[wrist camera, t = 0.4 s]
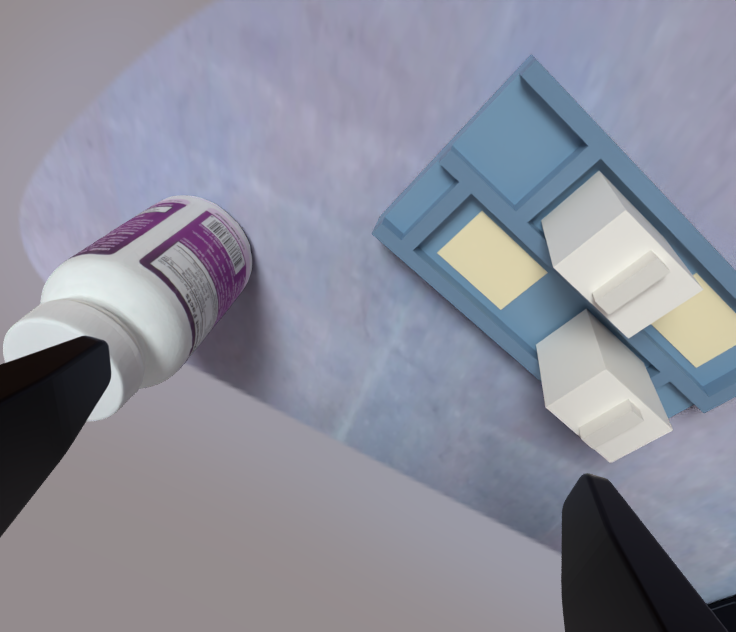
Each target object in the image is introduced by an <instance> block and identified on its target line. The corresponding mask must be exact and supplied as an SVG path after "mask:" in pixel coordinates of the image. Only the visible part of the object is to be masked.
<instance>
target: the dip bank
mask: <svg viewBox="0 0 736 632" xmlns="http://www.w3.org/2000/svg"><path fill="white" fill-rule="evenodd" d="M598 171H600V172H601V173H602V174H603V175H604V176H605V177H606V178H607V179H608V180H609V181H610V182H611V183H612V184H613V185H614V186H615V187H616V188H617V189H618V190H619V191H620V192H621V194H622V195H623V196H624V197H625V198H626V199H627V200H628V201H629V202H630V203H631V204H632V205H633V206H634V207H635V208H636V209H637V210H638V211H639V212H640V213H641V214H642V215H643V216H644V217H645V218H646V219H647V220H648V221H649V222H650V223H651V224H652V226H653V227H654V228H655V229H656V230H657V231H658V232H659V233H660V234H661V235H662V236H663V237H664V238H665V239H666V241H667V242H668V243H669V245H670V246H671V247H672V249H673V250H674V251H675V253H676V254H677V255H678V257H679V258H680V259H681V260H682V262H683V263H684V264H685V266H686V267H687V268H688V270H689V271H690V272H691V274H692V275H693V276H694V278H695V279H696V280H697V282H698V283H699V284H700V286H701V287H702V288H703V290H702V291H701V292H699V293H698V294H696V295H695V296H693V297H691V298H690V299H688V300H687V301H685V302H684V303H682V304H681V305H679V306H678V307H676V308H675V309H673V310H672V311H670V312H668V313H667V314H665V315H664V316H662V317H661V318H659V319H658V320H656V321H655V322H653V323H652V324H650V325H648V326H647V327H645V328H644V329H642V330H641V331H639V332H638V333H636V334H635V335H633V336H632V337H630V338H629V339H628V338H627V337H626V336H625V335H624V334H623V333H622V332H621V331H620V330H619V329H618V328H617V327H616V326H615V325H614V324H612V323H611V322H610V321H609V320H608V319H607V318H606V317H605V316H604V315H603V314H602V313H601V312H600V311H599V310H598V309H597V308H596V307H595V306H593V305H592V304H591V303H590V302H589V301H588V300H587V299H586V298H585V297H584V296H583V295H582V294H581V293H580V292H579V291H578V290H577V289H576V288H574V287H573V286H572V285H571V284H570V283H569V282H568V281H567V280H566V279H565V278H564V277H563V276H562V275H561V274H560V273H559V272H558V271H557V270H555V269H554V268H553V265H552V261H551V257H550V253H549V249H548V245H547V241H546V238H545V234H544V230H543V226H542V222H541V220H542V219H543V218H544V217H546V216H547V215H548V214H549V213H550V212H551V211H553V210H554V209H555V208H556V207H557V206H558V205H560V204H561V203H562V202H563V201H564V200H565V199H567V198H568V197H569V196H570V195H571V194H572V193H573V192H575V191H576V190H577V189H578V188H579V187H580V186H582V185H583V184H584V183H585V182H586V181H587V180H589V179H590V178H591V177H592V176H593V175H594V174H596V173H597V172H598ZM372 235H373V236H375V237H376V238H377V239H378V240H379V241H380V242H382V243H383V244H384V245H385V246H386V247H387V248H388V249H390V250H391V251H392V252H393V253H394V254H395V255H396V256H398V257H399V258H400V259H401V260H402V261H403V262H404V263H406V264H407V265H408V266H409V267H410V268H411V269H412V270H414V271H415V272H416V273H417V274H418V275H419V276H420V277H422V278H423V279H424V280H425V281H426V282H427V283H428V284H430V285H431V286H432V287H433V288H434V289H435V290H436V291H438V292H439V293H440V294H441V295H442V296H443V297H444V298H446V299H447V300H448V301H449V302H450V303H451V304H453V305H454V306H455V307H456V308H457V309H458V310H459V311H461V312H462V313H463V314H464V315H465V316H466V317H467V318H469V319H470V320H471V321H472V322H473V323H474V324H475V325H477V326H478V327H479V328H480V329H481V330H482V331H483V332H485V333H486V334H487V335H488V336H489V337H490V338H491V339H493V340H494V341H495V342H496V343H497V344H498V345H499V346H501V347H502V348H503V349H504V350H505V351H506V352H507V353H509V354H510V355H511V356H512V357H513V358H514V359H515V360H517V361H518V362H519V363H520V364H521V365H522V366H524V367H525V368H526V369H527V370H528V371H529V372H530V373H532V374H533V375H534V376H535V377H536V378H537V379H538V380H540V381H541V374H540V368H539V361H538V354H537V348H536V344H538V343H539V342H540V341H542V340H543V339H545V338H546V337H547V336H549V335H550V334H551V333H553V332H554V331H556V330H557V329H558V328H560V327H561V326H563V325H564V324H565V323H567V322H568V321H570V320H571V319H572V318H574V317H575V316H577V315H578V314H579V313H581V312H582V311H584V310H585V309H587V310H588V311H589V312H590V313H591V314H593V315H594V316H595V317H596V318H597V319H598V320H599V321H600V322H601V323H602V324H603V325H604V326H605V327H606V328H607V329H608V330H610V331H611V332H612V333H613V334H614V335H615V336H616V337H617V338H618V339H619V340H620V341H621V342H622V343H623V344H624V345H625V346H627V347H628V348H629V349H630V350H631V351H632V352H633V353H634V354H635V355H636V356H637V357H638V358H639V359H640V360H641V361H642V362H643V363H644V365H645V367H646V369H647V372H648V374H649V376H650V379H651V381H652V383H653V385H654V388H655V390H656V392H657V394H658V397H659V399H660V401H661V404H662V406H663V408H664V410H665V413H666V415H667V417H668V418H670V417H672V416H674V415H676V414H677V413H679V412H681V411H683V410H685V409H687V408H689V407H690V406H692V405H694V404H695V405H696V406H697V407H698V408H699V409H700V410H701V411H702V412H703V413H706V412H708V411H709V410H711V409H713V408H715V407H717V406H719V405H721V404H723V403H725V402H726V401H728V400H730V399H732V398H734V397H736V271H735V270H734V268H733V267H732V266H731V265H730V264H729V263H728V262H727V261H726V260H725V259H724V258H723V257H722V256H721V255H720V254H719V253H718V251H717V250H716V249H715V248H714V247H713V246H712V245H711V244H710V243H709V242H708V241H707V240H706V239H705V238H704V237H703V236H702V235H701V233H700V232H699V231H698V230H697V229H696V228H695V227H694V226H693V225H692V224H691V223H690V222H689V221H688V220H687V219H686V218H685V217H684V215H683V214H682V213H681V212H680V211H679V210H678V209H677V208H676V207H675V206H674V205H673V204H672V203H671V202H670V201H669V200H668V199H667V197H666V196H665V195H664V194H663V193H662V192H661V191H660V190H659V189H658V188H657V187H656V186H655V185H654V184H653V183H652V182H651V181H650V179H649V178H648V177H647V176H646V175H645V174H644V173H643V172H642V171H641V170H640V169H639V168H638V167H637V166H636V165H635V164H634V162H633V161H632V160H631V159H630V158H629V157H628V156H627V155H626V154H625V153H624V152H623V151H622V150H621V149H620V148H619V147H618V146H617V144H616V143H615V142H614V141H613V140H612V139H611V138H610V137H609V136H608V135H607V134H606V133H605V132H604V131H603V130H602V129H601V128H600V126H599V125H598V124H597V123H596V122H595V121H594V120H593V119H592V118H591V117H590V116H589V115H588V114H587V113H586V112H585V111H584V110H583V108H582V107H581V106H580V105H579V104H578V103H577V102H576V101H575V100H574V99H573V98H572V97H571V96H570V95H569V94H568V93H567V92H566V90H565V89H564V88H563V87H562V86H561V85H560V84H559V83H558V82H557V81H556V80H555V79H554V78H553V77H552V76H551V75H550V73H549V72H548V71H547V70H546V69H545V68H544V67H543V66H542V65H541V64H540V63H539V62H538V61H537V60H536V59H535V58H534V57H533V55H532V54H531V55H530V56H529V57H528V58H527V59H526V61H525V62H524V63H523V64H522V65H521V66H520V67H519V68H518V69H517V70H516V71H515V72H514V73H513V74H512V76H511V77H510V78H509V79H508V80H507V81H506V82H505V83H504V84H503V85H502V86H501V87H500V88H499V89H498V91H497V92H496V93H495V94H494V95H493V96H492V97H491V98H490V99H489V100H488V101H487V102H486V103H485V104H484V106H483V107H482V108H481V109H480V110H479V111H478V112H477V113H476V114H475V115H474V116H473V117H472V118H471V119H470V121H469V122H468V123H467V124H466V125H465V126H464V127H463V128H462V129H461V130H460V131H459V132H458V133H457V134H456V136H455V137H454V138H453V139H452V140H451V141H450V142H449V143H448V144H447V145H446V146H445V147H444V148H443V149H442V151H441V152H440V153H439V154H438V155H437V156H436V157H435V158H434V159H433V160H432V161H431V162H430V163H429V165H428V166H427V167H426V168H425V169H424V170H423V171H422V172H421V173H420V174H419V175H418V176H417V177H416V178H415V180H414V181H413V182H412V183H411V184H410V185H409V186H408V187H407V188H406V189H405V190H404V191H403V192H402V193H401V195H400V196H399V197H398V198H397V199H396V200H395V201H394V202H393V203H392V204H391V205H390V206H389V207H388V208H387V210H386V211H385V212H384V213H383V214H382V215H381V216H380V217H379V219H378V222H377V224H376V226H375V228H374V230H373V232H372ZM541 382H542V381H541Z"/></svg>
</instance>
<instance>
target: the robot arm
mask: <svg viewBox="0 0 736 632" xmlns="http://www.w3.org/2000/svg"><path fill="white" fill-rule="evenodd" d="M110 380H111V363H110V352H109V345H108V343H107V342H106V341H104V340H102V339H98V338H95V337H91V336H80V337H77V338H74V339H72V340H69V341H66V342H63V343H60V344H57V345H55V346H52V347H49V348H46V349H43V350H40V351H38V352H35V353H32V354H29V355H26V356H23V357H21V358H18V359H15V360H12V361H9V362H6V363H4V364H1V365H0V537H1V536H2V535H3V533H4V532H5V531H6V529H7V528H8V527H9V526H10V524H11V523H12V522H13V521H14V519H15V518H16V517H17V515H18V514H19V513H20V512H21V510H22V509H23V508H24V507H25V505H26V504H27V503H28V501H29V500H30V499H31V497H32V496H33V495H34V494H35V492H36V491H37V490H38V489H39V487H40V486H41V485H42V483H43V482H44V481H45V480H46V478H47V477H48V476H49V475H50V473H51V472H52V470H53V469H54V468H55V467H56V465H57V464H58V463H59V462H60V460H61V459H62V458H63V456H64V455H65V454H66V452H67V451H68V449H69V448H70V446H71V445H72V443H73V442H74V440H75V438H76V437H77V435H78V433H79V432H80V430H81V429H82V427H83V425H84V424H85V422H86V421H87V419H88V418H89V416H90V414H91V413H92V411H93V410H94V408H95V406H96V405H97V403H98V402H99V400H100V398H101V397H102V395H103V394H104V392H105V390H106V389H107V387H108V385H109V383H110ZM561 583H562V605H563V616H564V625H565V632H736V597H733V598H730V599H727V600H724V601H721V602H718V603H715V604H712V605H709V606H708V605H707V604H706V603H705V602H704V600H703V599H702V598H701V596H700V595H699V594H698V593H697V591H696V590H695V589H694V588H693V586H692V585H691V584H690V582H689V581H688V580H687V579H686V577H685V576H684V575H683V574H682V572H681V571H680V570H679V568H678V567H677V566H676V565H675V563H674V562H673V561H672V560H671V558H670V557H669V556H668V554H667V553H666V552H665V551H664V549H663V548H662V547H661V546H660V544H659V543H658V542H657V540H656V539H655V538H654V537H653V535H652V534H651V533H650V532H649V530H648V529H647V528H646V527H645V525H644V524H643V523H642V521H641V520H640V519H639V518H638V516H637V515H636V514H635V513H634V511H633V510H632V509H631V507H630V506H629V505H628V504H627V502H626V501H625V500H624V499H623V497H622V496H621V495H620V493H619V492H618V491H617V490H616V488H615V487H614V486H613V485H612V483H611V482H610V481H609V480H608V479H606V478H603V477H599V476H596V475H592V474H588V473H587V474H583V475H582V476H581V477H580V478H579V480H578V481H577V483H576V484H575V486H574V487H573V489H572V490H571V492H570V494H569V495H568V497H567V498H566V500H565V502H564V505H563V509H562V575H561Z"/></svg>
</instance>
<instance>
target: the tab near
mask: <svg viewBox="0 0 736 632" xmlns="http://www.w3.org/2000/svg"><path fill="white" fill-rule="evenodd" d="M541 222H542V226H543V230H544V234H545V238H546V241H547V245H548V249H549V253H550V257H551V261H552V265H553V268H554V269H555V270H557V271H558V272H559V273H560V274H561V275H562V276H563V277H564V278H565V279H566V280H567V281H568V282H569V283H570V284H571V285H572V286H573V287H574V288H576V289H577V290H578V291H579V292H580V293H581V294H582V295H583V296H584V297H585V298H586V299H587V300H588V301H589V302H590V303H591V304H592V305H593V306H595V307H596V308H597V309H598V310H599V311H600V312H601V313H602V314H603V315H604V316H605V317H606V318H607V319H608V320H609V321H610V322H611V323H612V324H614V325H615V326H616V327H617V328H618V329H619V330H620V331H621V332H622V333H623V334H624V335H625V336H626V337H627V338H628V339H629V338H630V337H632V336H633V335H635V334H636V333H638V332H639V331H641V330H642V329H644V328H645V327H647V326H648V325H650V324H652V323H653V322H655V321H656V320H658V319H659V318H661V317H662V316H664V315H665V314H667V313H668V312H670V311H672V310H673V309H675V308H676V307H678V306H679V305H681V304H682V303H684V302H685V301H687V300H688V299H690V298H691V297H693V296H695V295H696V294H698V293H699V292H701V291H702V290H703V288H702V287H701V286H700V284H699V283H698V282H697V280H696V279H695V278H694V276H693V275H692V274H691V272H690V271H689V270H688V268H687V267H686V266H685V264H684V263H683V262H682V260H681V259H680V258H679V257H678V255H677V254H676V253H675V251H674V250H673V249H672V247H671V246H670V245H669V243H668V242H667V241H666V239H665V238H664V237H663V236H662V235H661V234H660V233H659V232H658V231H657V230H656V229H655V228H654V227H653V226H652V224H651V223H650V222H649V221H648V220H647V219H646V218H645V217H644V216H643V215H642V214H641V213H640V212H639V211H638V210H637V209H636V208H635V207H634V206H633V205H632V204H631V203H630V202H629V201H628V200H627V199H626V198H625V197H624V196H623V195H622V194H621V192H620V191H619V190H618V189H617V188H616V187H615V186H614V185H613V184H612V183H611V182H610V181H609V180H608V179H607V178H606V177H605V176H604V175H603V174H602V173H601V172H600V171H598V172H597V173H596V174H594V175H593V176H592V177H591V178H590V179H589V180H587V181H586V182H585V183H584V184H583V185H582V186H580V187H579V188H578V189H577V190H576V191H575V192H573V193H572V194H571V195H570V196H569V197H568V198H567V199H565V200H564V201H563V202H562V203H561V204H560V205H558V206H557V207H556V208H555V209H554V210H553V211H551V212H550V213H549V214H548V215H547V216H546V217H544V218H543V219H542V220H541Z"/></svg>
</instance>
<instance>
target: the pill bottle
mask: <svg viewBox="0 0 736 632" xmlns="http://www.w3.org/2000/svg"><path fill="white" fill-rule="evenodd" d="M251 271H252V255H251V251H250V244H249V242H248V239H247V237H246V236H245V234H244V232H243V230H242V229H241V227H240V226H239V224H238V223H237V222H236V221H235V220H234V219H233V218H232V217H231V216H230V215H229V214H227V213H226V211H224V210H223V209H222V208H220V207H219V206H218V205H216V204H215V203H212V202H210V201H208V200H205V199H203V198H200V197H195V196H188V195H186V196H183V195H181V196H172V197H169V198H166V199H164V200H161V201H160V202H158V203H156V204H155V205H153V206H151V207H149V208H148V209H146V210H145V211H143V212H141V213H140V214H138V215H137V216H135V217H134V218H132V219H130V220H129V221H127V222H126V223H124V224H122V225H121V226H119V227H118V228H116V229H115V230H113V231H111V232H110V233H108V234H107V235H105V236H104V237H102V238H101V239H99V240H97V241H96V242H94V243H93V244H91V245H90V246H88V247H87V248H85V249H84V250H82V251H80V252H79V253H77V254H76V255H74V256H73V257H71V258H69V259H68V260H66V261H65V262H63V263H62V264H61V265H60V266H59V267H58V268H57V269H56V270H55V271H54V272H53V273H52V274H51V275H50V277H49V278H48V280H47V282H46V284H45V286H44V288H43V291H42V296H41V302H40V305H39V306H37V307H36V308H34V310H32V311H31V312H29V313H28V314H27V315H25V316H24V317H23V318H22V319H20V320H19V321H18V322H17V323H16V324H14V325H13V326H12V327H11V328H10V329H9V331H8V332H7V334H6V336H5V339H4V343H3V355H4V359H5V362H9V361H12V360H15V359H18V358H21V357H23V356H26V355H29V354H32V353H35V352H38V351H40V350H43V349H46V348H49V347H52V346H55V345H57V344H60V343H63V342H66V341H69V340H72V339H74V338H77V337H80V336H91V337H95V338H98V339H102V340H104V341H106V342H107V343H108V345H109V352H110V363H111V380H110V383H109V385H108V387H107V389H106V390H105V392H104V394H103V395H102V397H101V398H100V400H99V402H98V403H97V405H96V406H95V408H94V410H93V411H92V413H91V414H90V416H89V418H88V419H87V421H99V420H102V419H106V418H108V417H110V416H112V415H113V414H115V413H116V412H117V411H118V410H119V409H120V408H121V407H122V406H123V405H124V404H125V403H126V402H127V401H128V400H129V399H130V398H131V397H132V396H133V395H134V394H135V393H136V392H137V391H138V390H139V389H141V388H147V387H151V386H154V385H157V384H160V383H162V382H164V381H166V380H167V379H169V378H170V377H171V376H173V375H174V374H175V373H176V372H177V371H178V370H179V369H180V368H181V367H182V366H183V365H184V364H185V362H186V361H187V360H188V358H189V357H190V356H191V355H192V353H193V352H194V351H195V350H196V348H197V347H198V346H199V345H200V344H201V342H202V341H203V340H204V339H205V337H206V336H207V335H208V334H209V332H210V331H211V330H212V329H213V327H214V326H215V325H216V324H217V322H218V321H219V320H220V319H221V317H222V316H223V315H224V314H225V312H226V311H227V310H228V309H229V307H230V306H231V305H232V304H233V302H234V301H235V300H236V298H237V297H238V296H239V295H240V293H241V292H242V291H243V289H244V288H245V286H246V284H247V283H248V281H249V278H250V274H251Z"/></svg>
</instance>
